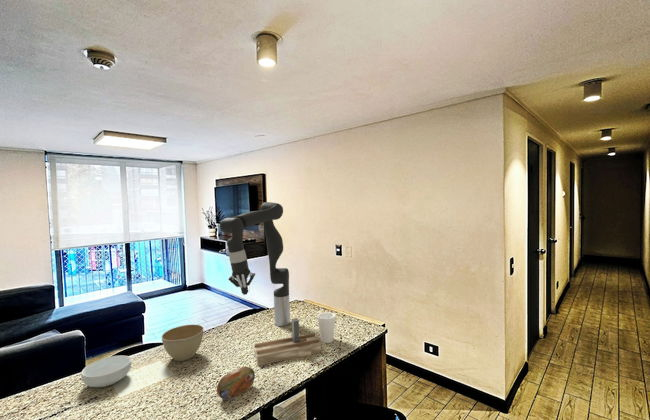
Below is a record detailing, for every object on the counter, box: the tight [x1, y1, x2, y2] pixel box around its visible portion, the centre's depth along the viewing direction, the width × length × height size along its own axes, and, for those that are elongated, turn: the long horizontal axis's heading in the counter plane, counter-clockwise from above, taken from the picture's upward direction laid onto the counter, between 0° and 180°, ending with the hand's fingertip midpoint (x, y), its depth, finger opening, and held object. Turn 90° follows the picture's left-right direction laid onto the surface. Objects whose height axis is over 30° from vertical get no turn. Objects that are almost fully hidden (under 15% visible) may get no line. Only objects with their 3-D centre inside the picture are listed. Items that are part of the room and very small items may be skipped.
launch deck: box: [253, 332, 322, 366], centre depth 146 cm, size 12×30×6 cm, turn 110°
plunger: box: [291, 318, 300, 343], centre depth 147 cm, size 4×3×11 cm
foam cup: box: [316, 311, 336, 344], centre depth 158 cm, size 10×9×13 cm
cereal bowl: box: [80, 354, 132, 388], centre depth 126 cm, size 17×17×7 cm
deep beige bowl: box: [161, 324, 204, 362], centre depth 145 cm, size 18×18×12 cm
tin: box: [216, 366, 256, 401], centre depth 116 cm, size 15×3×8 cm, turn 137°
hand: (245, 293), depth 145 cm, fingers closed
